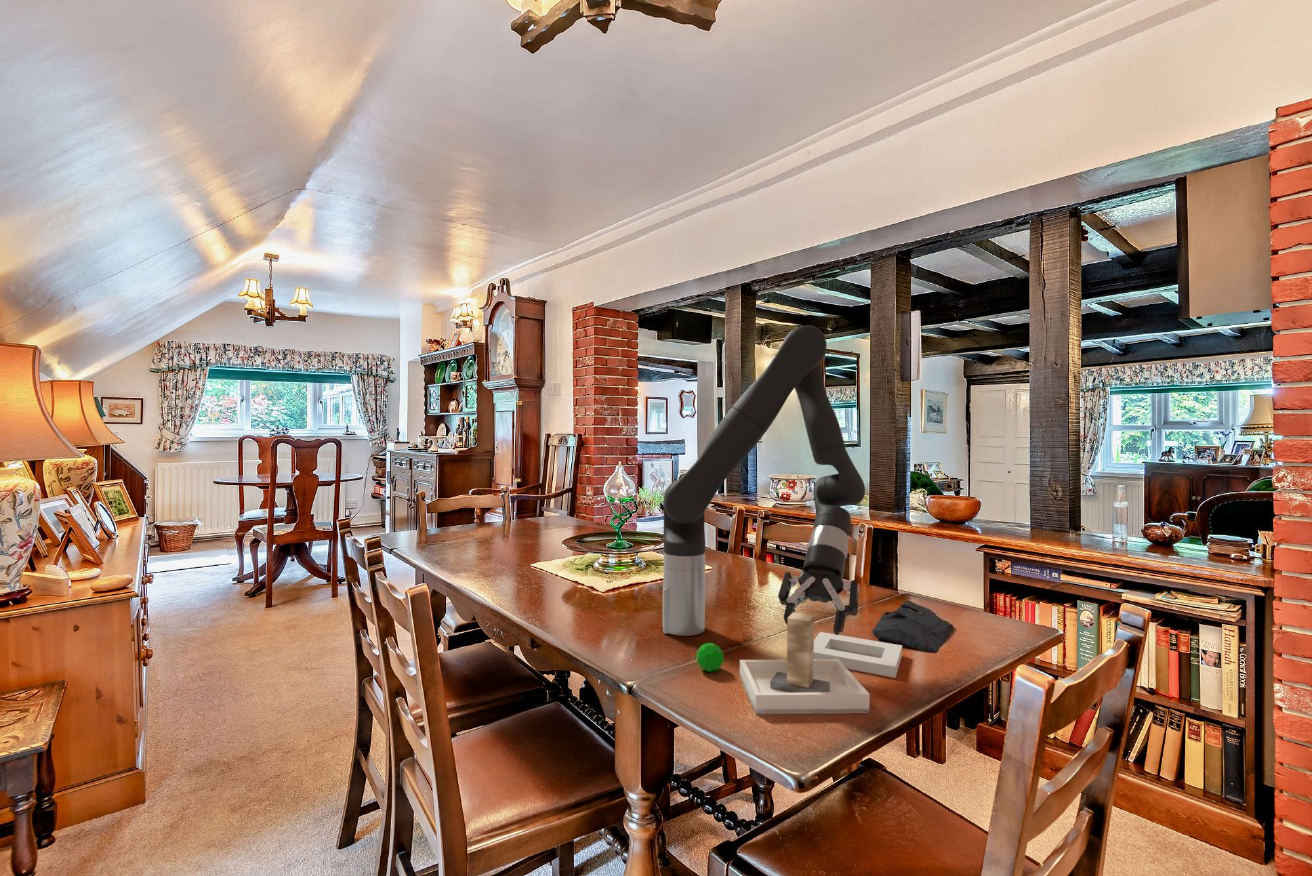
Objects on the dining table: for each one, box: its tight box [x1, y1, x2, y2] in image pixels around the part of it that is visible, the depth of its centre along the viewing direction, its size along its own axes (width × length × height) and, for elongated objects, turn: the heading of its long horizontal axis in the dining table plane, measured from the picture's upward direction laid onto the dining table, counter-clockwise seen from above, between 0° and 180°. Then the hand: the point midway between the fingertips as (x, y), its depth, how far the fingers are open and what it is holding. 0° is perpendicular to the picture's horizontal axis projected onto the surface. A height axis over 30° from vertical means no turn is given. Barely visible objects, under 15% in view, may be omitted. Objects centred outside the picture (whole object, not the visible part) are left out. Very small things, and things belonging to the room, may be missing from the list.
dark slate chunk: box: [871, 600, 955, 653], centre depth 129 cm, size 15×22×5 cm
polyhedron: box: [695, 642, 725, 673], centre depth 108 cm, size 5×5×5 cm
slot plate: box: [814, 631, 903, 679], centre depth 114 cm, size 16×12×2 cm
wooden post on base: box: [770, 611, 830, 693], centre depth 99 cm, size 9×4×12 cm, turn 63°
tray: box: [739, 659, 871, 715], centre depth 99 cm, size 18×14×3 cm
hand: (812, 628), depth 106 cm, fingers open, 8 cm apart
